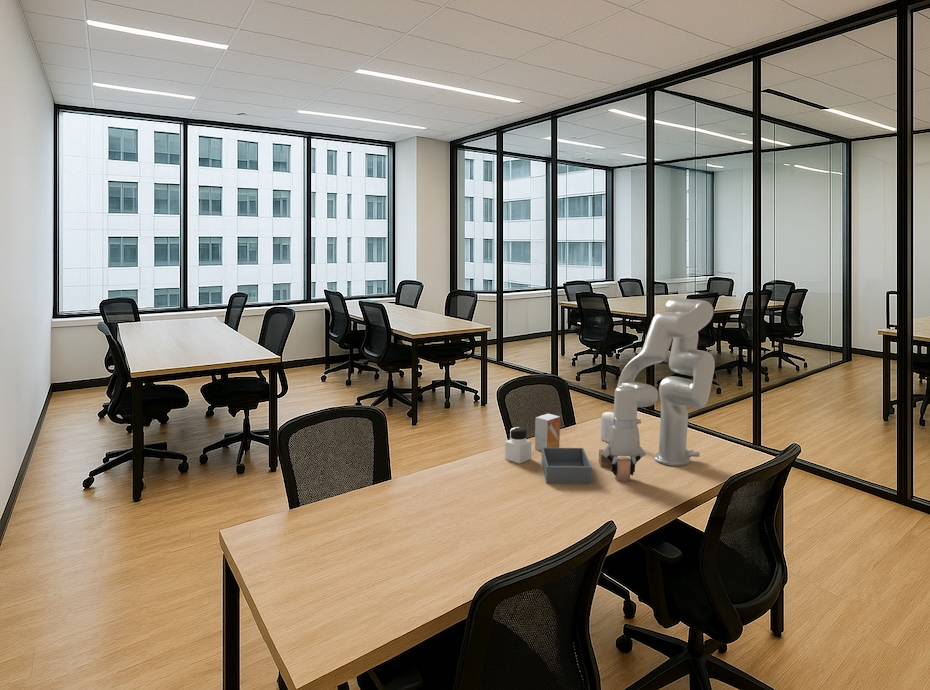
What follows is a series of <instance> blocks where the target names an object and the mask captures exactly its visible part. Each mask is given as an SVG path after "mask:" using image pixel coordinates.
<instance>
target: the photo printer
mask: <svg viewBox="0 0 930 690" xmlns="http://www.w3.org/2000/svg"><path fill="white" fill-rule="evenodd" d="M600 423H601V426H600V440H602V441H604V442H606V443H608V439H609V432H610V427H611V425H613V424H614V411H606V412H603V413H602V415H601V421H600Z"/></svg>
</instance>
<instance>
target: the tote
mask: <svg viewBox="0 0 930 690" xmlns="http://www.w3.org/2000/svg"><path fill="white" fill-rule="evenodd" d="M540 458H541V462H540V463H541V466H542V472H543V475H544V481H545V482H546V484H572V483H577V484H578V483H579V485H580V484H583V485H584V484H589V485H591V484H592V480H593V479H592V478H593V466H592V464H591V462H590V460H589V458H588V455H587V453H586V451H585V448H584V447H559V448H542V451H541V457H540Z"/></svg>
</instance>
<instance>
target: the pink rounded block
mask: <svg viewBox="0 0 930 690" xmlns="http://www.w3.org/2000/svg"><path fill="white" fill-rule="evenodd" d="M616 464H617V475H614V477H615V478H614V479H615V480H616V481H619V482H629V481H631V474H630V473H631V458H630V457H628V456H618V457H617V460H616Z"/></svg>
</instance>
